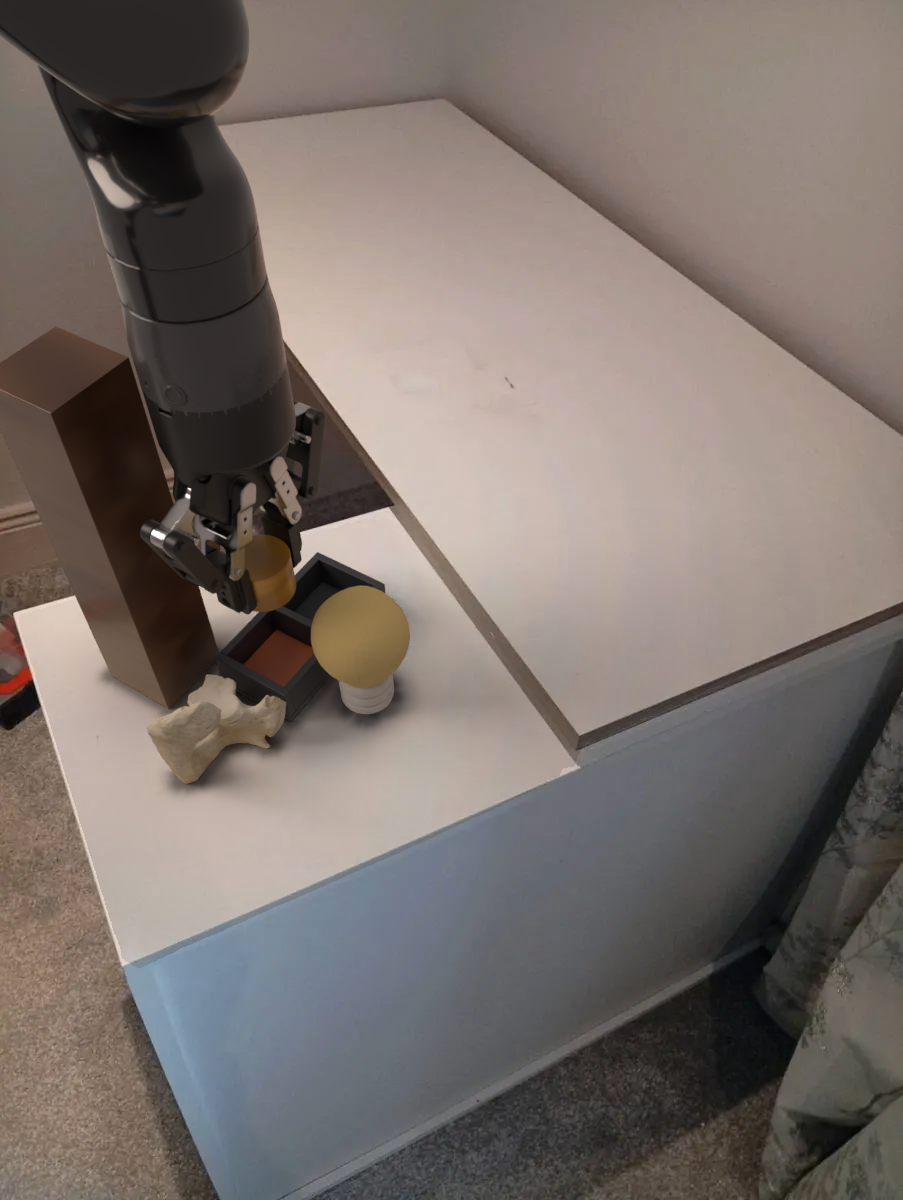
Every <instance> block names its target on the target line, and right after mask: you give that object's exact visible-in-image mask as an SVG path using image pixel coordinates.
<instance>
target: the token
mask: <svg viewBox="0 0 903 1200" xmlns="http://www.w3.org/2000/svg"><path fill="white" fill-rule="evenodd" d="M245 569H247V570H248V571H249V575H250V579H251V583H252V587H253V591H254V595H255V599H256V603H257V607H256V608H255V609H254V610H253V611H252V612H256V613H258V612H267V611H272V610H275V609H278V608H280V607H282V606H284V605H285V604H286V603H288V602H289V601H290V600H291V598H292V597H293V595H294V593H295V591H296V580H295V574H296V573H295V570H294V569H295V568H293V564H292V559H291V554H290V550H289V548H288V546H287V545H286V543H285V542H284V541H282V540H280V539H278V538H276V537H274V536H271V535H265V534H255V535H252V542H251V543H250V544H248V545H247V546H245Z"/></svg>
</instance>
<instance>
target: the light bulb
mask: <svg viewBox="0 0 903 1200" xmlns="http://www.w3.org/2000/svg"><path fill="white" fill-rule="evenodd" d="M410 632H411V631H410V624H409V622H408V619H407V616H406V614H405V612H404V609H403V608H402V607H401V606H400V605H399V604H398V602H396V600H395V599H394V598H393V597H391V596H390V595H388V594H387V593H386V592H385V593H384V592H382V591H380V590H378V589H375V588H373V587H369V586H354V587H350V588H347V589H344V590H342V591H340V592H338V593H336V594H334V595H333V596H331V597H330V598H329V599H327V600H326V601H325V602H324V603H323V604H322V605H321V606H320V608H319V609H318V610H317V612H316V614H315V616H314V619H313V622H312V626H311V644H312V648H313V651H314V654H315V656H316V658H317V660H318V662H319V664H320V665H321V666H322V667H323V668H324V670H325V671H326V672H327V673H329V674H330V675H331V676H330V677H332V678H333V679H335V680H337V681H338V686H339V690H340V698H341V701H342V702H343V705H345V707H346V708H348V709H349V710H350V711H351V712H353V713H356V714H359V715H360V714H361V715H373V714H376V713H378V712H381V711H383V710H384V709H386V708H387V707H388V706H389V705H390V703H391V702H392V700H393V697H394V694H395V684H394V675H393V673H395V671H396V670H398V669H399V667H400V666H401V664H402V663H403V662H404V660H405V658H406V656H407V654H408V650H409V648H410V647H409V646H410V642H411V641H410V640H411V633H410Z"/></svg>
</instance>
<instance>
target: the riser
mask: <svg viewBox="0 0 903 1200" xmlns="http://www.w3.org/2000/svg"><path fill="white" fill-rule="evenodd" d="M130 359H131V358H130V357H129V356H126V355H124V354H122V353H120V352H117V351H115V350H113V349H110V348H108V347H106V346H104V345H101V344H99V343H96V342H95V341H92V340H89V339H87V338H85V337H82V336H79V335H77V334H75V333H73V332H70V331H68V330H67V329H63V328H61V327H59V326H53V327H52V328H50V329H49V330H48V331H46V332H44V333H43V334H41V335H40V336H38V337H37V338H35V339H34V340H32V341H31V342H29V343H27V344H26V345H25V346H23V347H22V348H20V349H18V350H16V352H14V353H12V354H11V355H10V356H7V358H5V359H3V360H2V361H0V434H1V436H2V439H3V441H4V443H5V445H6V448H7V450H8V451H9V454H10V456H11V459H12V460H13V463H14V465H15V467H16V469H17V471H18V474H19V476H20V478H21V480H22V483H23V485H24V487H25V489H26V491H27V494H28V496H29V498H30V501H31V502H32V505H33V507H34V509H35V511H36V513H37V515H38V517H39V520H40V522H41V524H42V527H43V529H44V531H45V533H46V535H47V537H48V539H49V542H50V544H51V547H52V548H53V550H54V553H55V555H56V557H57V559H58V562H59V564H60V566H61V568H62V571H63V573H64V575H65V577H66V579H67V582H68V584H69V586H70V589H71V590H72V593H73V594H74V597H75V598H76V599H75V600H76V602H77V603H78V605H79V607H80V610H81V612H82V615H83V616H84V619H85V621H86V623H87V625H88V627H89V630H90V632H91V634H92V636H93V639H94V641H95V642H96V643H95V644H96V645H97V648H98V649H99V652H100V653H101V656H102V658H103V660H104V663H105V665H106V667H107V669H108V671H109V673H110V675H111V677H113V678H115V679H116V680H118V681H119V682H121V683H123V684H125V685H126V686H128V687H130V688H132V689H133V690H135V691H137V692H138V693H140V694H141V695H143V696H145V697H147V698H148V699H151V700H152V701H154V702H156V703H157V704H159V705H161V706H163V707H164V708H166V709H168V710H170V708H172V707H173V705H174V704H175V703H176V702H178V700H179V699H180V698H181V697H182V696H183V695H184V694H185V693H186V692H187V691H188V690H189V689H190V688H191V687H192V686H193V685H194V684H195V682H197V681H198V680H199V679H200V677H201V676H202V675H203V674H204V673H206V672H207V670H208V669H209V668H211V666H212V665H213V664H214V663H216V661H215V657H216V656H217V655H218V654H219V653H220V651H219V648H218V645H217V641H216V638H215V635H214V632H213V628H212V625H211V622H210V618H209V615H208V612H207V611H208V610H207V608H206V605H205V602H204V599H203V595H202V592H201V588H200V586H198V585H197V584H195V583H193V582H191V581H189V580H185V579H183V578H181V577H180V576H179V575H178V574H177V573H176V572H175V571H174V570H173V569H172V568H171V567H170V566H169V565H168V564H167V563H166V562H165V561H164V560H163V559H162V558H161V557H160V556H159V555H158V554H157V553H156V552H155V551H154V550H153V549H152V548H151V547H150V546H149V545H148V544H147V543H146V542H145V541H144V540H143V539H142V538H141V536H140V531H141V528H142V526H143V524H144V523H145V522H146V521H148V520H150V519H152V520H155V521H157V522H159V523H161V521H162V520H163V519H164V517H165V516H166V514H167V513H168V512H169V510H170V509H171V507H172V506H173V505H174V503H175V502H174V500H173V496H172V494H171V491H170V488H169V485H168V480H167V478H166V474H165V471H164V467H163V464H162V461H161V458H160V454H159V451H158V448H157V444H156V441H155V438H154V434H153V431H152V428H151V425H150V422H149V419H148V415H147V411H146V408H145V406H144V402H143V399H142V395H141V392H140V389H139V386H138V382H137V378H136V376H135V373H134V370H133V367H132V363H131V360H130Z"/></svg>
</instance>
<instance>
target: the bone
mask: <svg viewBox="0 0 903 1200" xmlns="http://www.w3.org/2000/svg"><path fill="white" fill-rule="evenodd" d="M187 705H188V706H187ZM187 705H184V706H181V707H179V708H176V709H174V711H173V712H172V713H171V712H170V713H168V714H165V715H163V716H159V717H157V718H156V719H155V720H153V721H151V722H150V723H149V724H148V725H147V726H146V732H147V734H148V736H149V737H150V739H151V741H152V743H153V744H154V746H155V748H156V750H157V752H158V753H159V755H160V756H161V758H162V759H163V761H164V763H165V764H166V765H167V766H168V767H169V768H170V770H171V772H172V773H173V774H174V775H175V776H176V777H177V778H178V780H179V781H181V782H182V783H183V784H184V785H185V784H187V785H188V784H190V783H195V782H197V781H198V780H199V779H200V777H201V776H202V774H204V772H205V771H206V769H207V768H208V767H209V766H210V765H211V764H212V762H213V761H215V759H216V758H217V757H218V756H219V754H220V753H221V751H222V750H223V749H225V748H227V746H231V745H234V744H250V745H252V746H253V745H254V746H257V747H260V748H261V749H269V748H271V747H272V745H271V744H270V743H269V742H268V740H266V737H267V736H268V737H269V738H272V737H274V736H275V735H276V733H278V731H279V730H280V729H281V728H282V726H283V724H284V722H285V720H286V719H285V711H286V702H284V701H283V700H281V699H280V698H277V697H274V696H271V697H270V696H268V695H266V696H265V697H264V698H263V700H262V701H261V702H260V703H259V704H258V703H256V704H255V705H248V704H246V703H244V702H242V701H241V699H240V698H239V697H238V696H237V691H236V682H235V681H234V680H232V679H230V678H226V679H224V678H223V677H220V674H208V673H207V674H205V678H204V681H203V684H202V685H201V686H200V687H199V688H198V689H196V690H194V691H192V692H190V693H189V694H188V697H187Z"/></svg>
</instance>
